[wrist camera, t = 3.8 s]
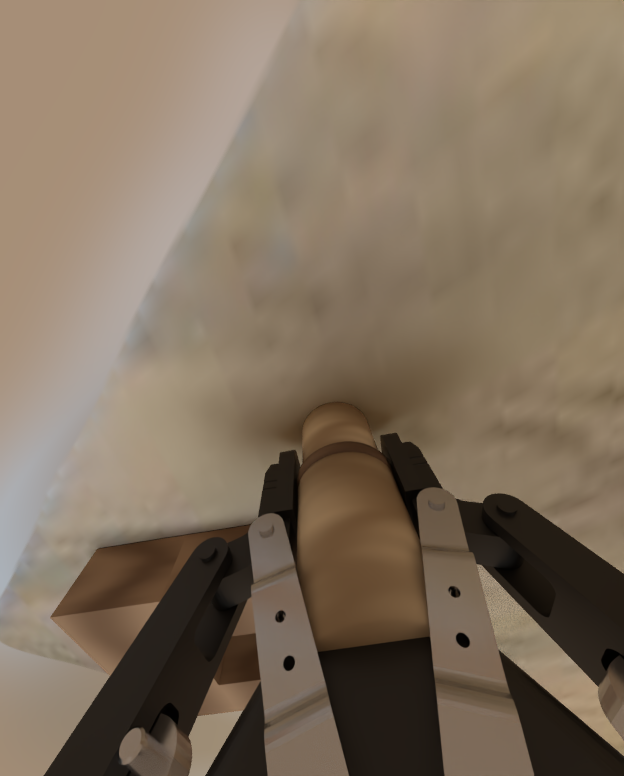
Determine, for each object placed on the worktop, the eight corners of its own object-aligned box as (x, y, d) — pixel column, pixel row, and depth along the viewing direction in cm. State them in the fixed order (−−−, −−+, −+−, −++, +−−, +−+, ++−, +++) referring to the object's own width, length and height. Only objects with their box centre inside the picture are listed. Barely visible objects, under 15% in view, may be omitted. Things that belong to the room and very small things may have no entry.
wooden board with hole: (365, 506, 18) (380, 569, 15) (383, 625, 24) (397, 691, 21) (97, 549, 19) (49, 617, 16) (177, 653, 25) (156, 721, 22)
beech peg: (368, 391, 15) (471, 605, 6) (375, 454, 17) (464, 694, 8) (290, 405, 15) (274, 633, 6) (305, 466, 17) (310, 714, 8)
